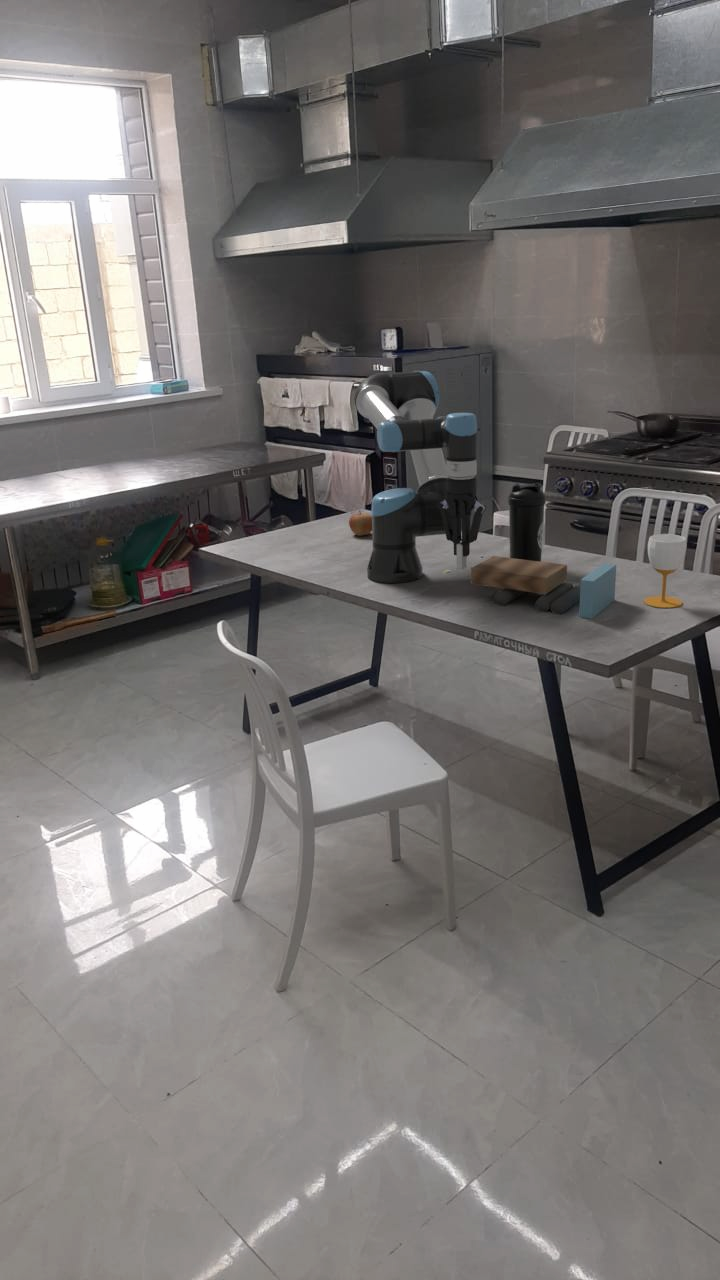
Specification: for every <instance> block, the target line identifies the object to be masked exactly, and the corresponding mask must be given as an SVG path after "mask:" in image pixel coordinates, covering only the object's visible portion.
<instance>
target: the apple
mask: <svg viewBox="0 0 720 1280" xmlns="http://www.w3.org/2000/svg"><path fill="white" fill-rule="evenodd" d="M358 512H359V513H355V514H352V515H351V516H350V518H349V521H348V525H349V527H350V531H351V532H352V533H353V534H354V535H356V536H358V537H362V536H367V535H369V534H371V533H372V515H371V514H368V513H367V512H366V513H365V512H363V513H362V512H361V510H359V511H358Z"/></svg>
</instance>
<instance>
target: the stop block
mask: <svg viewBox="0 0 720 1280" xmlns="http://www.w3.org/2000/svg"><path fill="white" fill-rule="evenodd" d="M616 577H617V564H615V563H607V562H606V563H605V562H604V563H602V564H601V565H599V566H598V567H597V568H596V569H594V570H593V571H591V572H590V573H588V574H587V575H585V576H584V577H583V578H581V579H580V583H581V584H580V601H579V609H578V610H579V612H578V613H579V614H578V617H580V618H586V619H593V618H595V616H597V614H599V613H600V612H602V611H603V610H604V609H605V608H606V607H607V606H609V605H610V604H611V603H612V602H614V601H615V599H616V598H615V597H616V581H617V580H616Z"/></svg>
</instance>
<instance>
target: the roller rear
mask: <svg viewBox="0 0 720 1280" xmlns="http://www.w3.org/2000/svg"><path fill="white" fill-rule="evenodd" d="M526 592H527V591H520V590H513V589H505V588H502V589H501V590H500V591H499V590H498V592H496V593H495V594H494V596H493V602H495V603H494V604H495V605H498V606H505V605H507V604H508V603H510V602H512V601H513V600H515V599H516V598H518V597H519V596H521V595H522V594H524V593H526Z"/></svg>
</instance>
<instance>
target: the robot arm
mask: <svg viewBox="0 0 720 1280" xmlns="http://www.w3.org/2000/svg"><path fill="white" fill-rule="evenodd" d="M353 395H354V396H353V402H354V403H353V404H354V407H355V409H356V411H357V413H359V414H360V415H361V416H362V417H363V418H364V419H365V418H366V419H368V420H369V421H370V422H371V424H372V425H373V427H375V429H376V430H377V431H376V440H377V444H378V448H379V450H380V451H381V452H382V453H383V452H385V453H386V452H387V453H389V452H391V453H397V452H405V451H406V452H407V451H409V452H410V454H411V457H412V462H413V466H414V470H415V473H416V477H417V481H418V485H419V486H418V488H417V489H416V492H415V489H413V488H412V487H402V488H401V487H397V488H391V489H387V490H384V491H381V492H379V493H377V494H375V495H374V496H373V498H372V501H371V511H370V516H372V531H371V533H372V551H371V554H370V558H369V562H368V566H367V569H366V570H367V571H366V572H367V578H368V579H369V580H372V581H374V582H378V583H386V584H399V583H407V582H409V583H410V582H412V581H416V580H418V579H420V578H422V576H423V573H424V572H423V565H422V563H421V560H420V556H419V554H418V551H417V545H416V539H417V537H428V536H429V537H430V536H437V535H438V536H439V535H445V538H446V540H447V541H451V542H452V543H453V555H454V556H456V569H457V570H464V569H465V568H467V567H468V566H467V564H468V563H467V562H468V561H467V560H468V558H467V557H469V556H470V551H471V549H470V545H471V543H474V542H475V541H477V539H478V535H479V531H480V527H481V522H482V518H483V514H484V513H485V511H486V509H487V506H486V505H485V504H481V503H480V502H479V500H478V497H477V489H478V488H477V485H478V484H477V483H478V482H477V480H478V479H477V477H475V476H477V472H478V471H477V469H478V468H477V467H478V466H477V453H478V452H477V450H478V449H477V448H478V447H477V444H478V440H477V439H478V436H477V435H478V426H477V424H478V423H477V422H478V421H477V416H476V415H475V414H474V413H471V412H454V413H449V414H447V415H445V416H444V415H442V416H438V417H437V418H434V415H435V413H436V411H437V410H438V407H439V404H440V393H439V387H438V382H437V380H436V378H435V377H434V375H433V374H432V373H431V372H429V371H426V370H413V371H409V372H408V371H406V372H405V371H404V372H386V373H384V372H379V373H376V374H372V375H369V376H368V377H366V378H365V379H364V380H362V381H361V383H360V384H358V386H357V388H356V390H355V392H354V394H353ZM443 449H445V450H446V451H445V452H446V453H445V454H446V455H445V456H444V452H443ZM445 458H446V459H445ZM473 509H474V514H473V518H472V521H471V517H472V511H473Z"/></svg>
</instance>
